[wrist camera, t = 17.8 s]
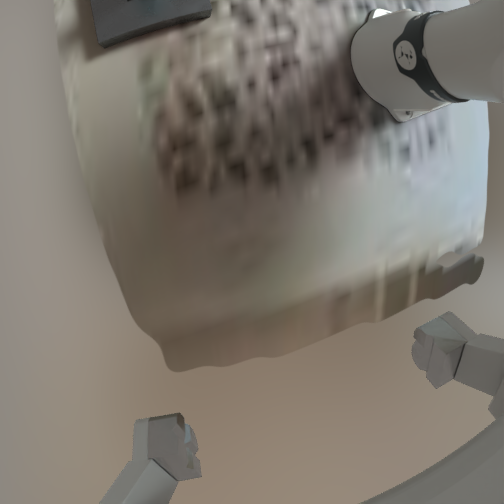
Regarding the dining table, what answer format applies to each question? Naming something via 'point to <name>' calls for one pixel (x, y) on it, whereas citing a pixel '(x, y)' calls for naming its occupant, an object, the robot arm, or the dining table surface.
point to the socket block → (142, 17)
